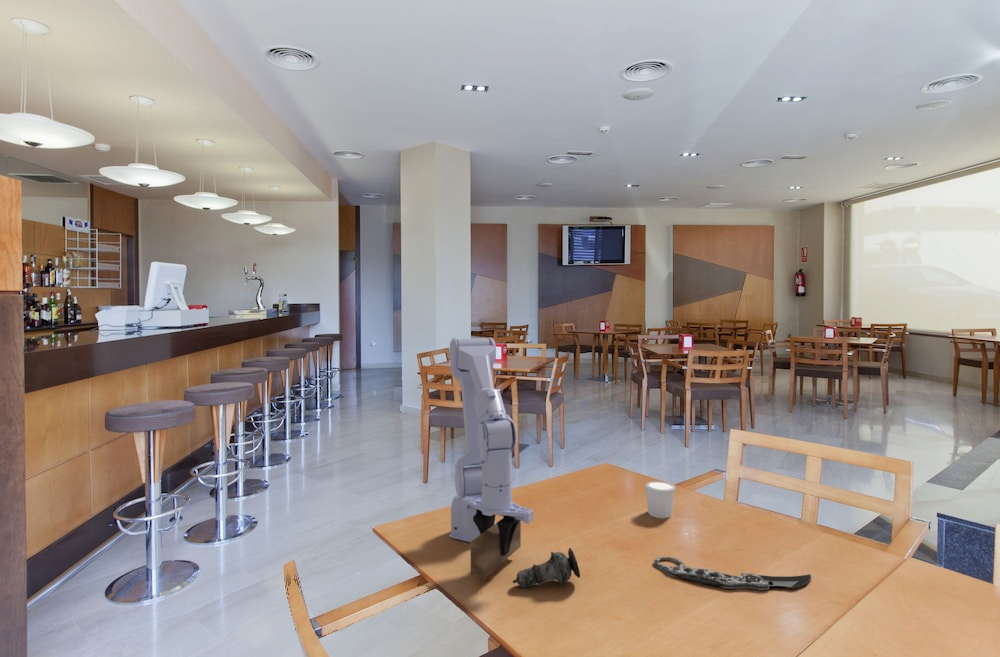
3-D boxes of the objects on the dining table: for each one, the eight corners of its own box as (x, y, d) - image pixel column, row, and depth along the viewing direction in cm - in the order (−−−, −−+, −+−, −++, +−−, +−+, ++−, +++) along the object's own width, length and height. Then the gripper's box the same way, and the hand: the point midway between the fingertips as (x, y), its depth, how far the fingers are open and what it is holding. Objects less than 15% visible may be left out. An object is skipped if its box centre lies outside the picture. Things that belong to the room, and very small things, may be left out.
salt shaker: (581, 586, 97) (518, 606, 96) (570, 559, 102) (510, 578, 101) (579, 565, 94) (514, 586, 93) (568, 539, 99) (506, 558, 98)
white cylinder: (651, 506, 135) (651, 478, 135) (678, 512, 131) (678, 484, 130) (641, 515, 129) (641, 486, 129) (669, 521, 125) (669, 492, 125)
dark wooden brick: (470, 573, 98) (470, 541, 97) (507, 543, 110) (507, 514, 110) (484, 578, 96) (484, 545, 96) (520, 546, 108) (520, 517, 108)
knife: (810, 570, 100) (825, 595, 91) (810, 579, 100) (825, 604, 91) (654, 552, 109) (652, 573, 99) (654, 559, 109) (652, 581, 99)
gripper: (453, 482, 102) (454, 551, 103) (520, 495, 95) (520, 569, 96) (473, 471, 109) (473, 536, 109) (537, 483, 101) (537, 553, 102)
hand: (497, 551), depth 103 cm, fingers closed on dark wooden brick, 3 cm apart
